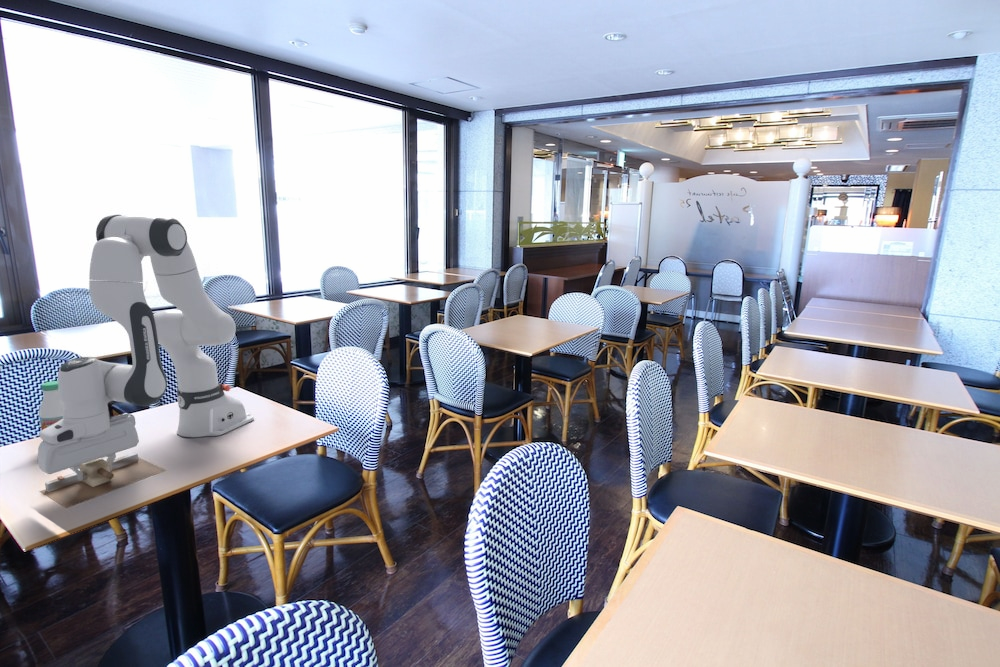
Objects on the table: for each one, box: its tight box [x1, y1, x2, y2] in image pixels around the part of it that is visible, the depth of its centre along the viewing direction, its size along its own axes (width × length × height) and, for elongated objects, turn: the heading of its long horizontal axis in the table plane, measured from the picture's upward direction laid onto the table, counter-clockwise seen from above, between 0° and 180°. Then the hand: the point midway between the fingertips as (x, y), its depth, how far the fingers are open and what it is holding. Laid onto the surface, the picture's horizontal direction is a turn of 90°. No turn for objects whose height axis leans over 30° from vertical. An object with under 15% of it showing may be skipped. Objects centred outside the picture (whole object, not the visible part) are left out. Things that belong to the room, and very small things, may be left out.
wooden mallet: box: [79, 458, 114, 487], centre depth 130 cm, size 4×11×5 cm, turn 60°
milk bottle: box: [38, 380, 63, 441], centre depth 151 cm, size 8×8×20 cm
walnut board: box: [39, 452, 167, 509], centre depth 132 cm, size 22×14×4 cm, turn 150°
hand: (95, 475), depth 131 cm, fingers closed on wooden mallet, 4 cm apart
